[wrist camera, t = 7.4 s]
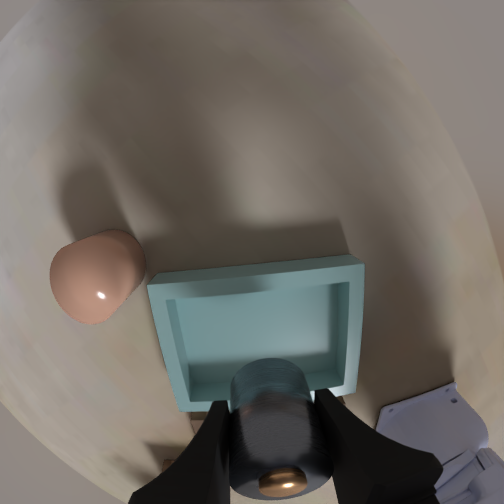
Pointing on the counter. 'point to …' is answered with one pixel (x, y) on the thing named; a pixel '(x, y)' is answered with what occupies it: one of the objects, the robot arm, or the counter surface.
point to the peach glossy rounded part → (97, 275)
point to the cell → (275, 433)
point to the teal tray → (259, 324)
